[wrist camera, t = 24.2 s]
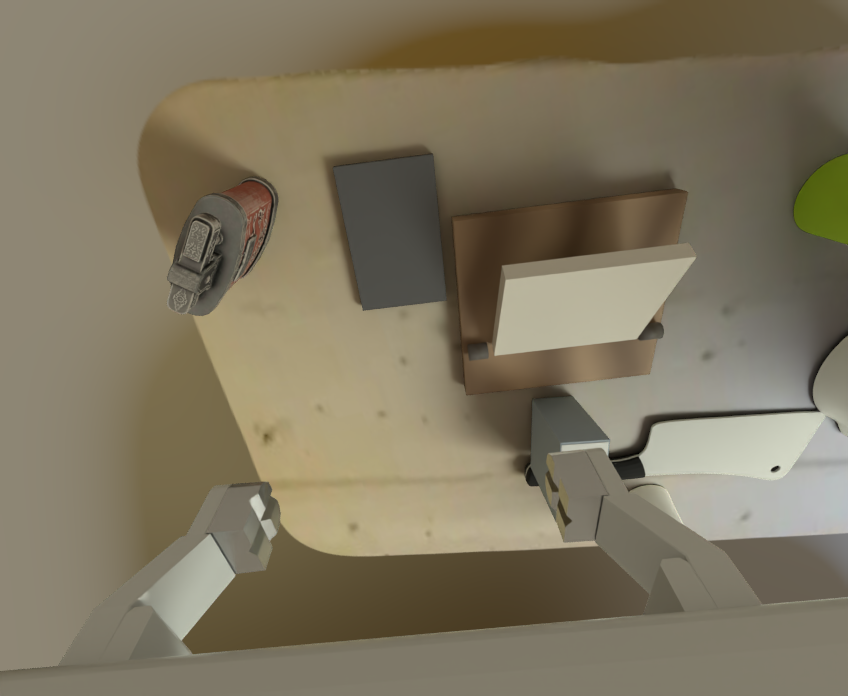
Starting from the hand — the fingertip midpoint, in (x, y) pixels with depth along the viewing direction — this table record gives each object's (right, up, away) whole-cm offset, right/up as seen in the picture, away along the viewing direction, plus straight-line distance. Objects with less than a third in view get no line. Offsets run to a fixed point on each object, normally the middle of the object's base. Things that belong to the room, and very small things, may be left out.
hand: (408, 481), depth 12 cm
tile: (+12, +6, +18) cm, 22 cm away
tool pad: (-2, +13, +19) cm, 23 cm away
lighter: (-13, +13, +19) cm, 26 cm away
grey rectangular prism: (+13, -2, +24) cm, 28 cm away
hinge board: (+12, +8, +23) cm, 27 cm away
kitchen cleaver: (+27, -3, +29) cm, 40 cm away
